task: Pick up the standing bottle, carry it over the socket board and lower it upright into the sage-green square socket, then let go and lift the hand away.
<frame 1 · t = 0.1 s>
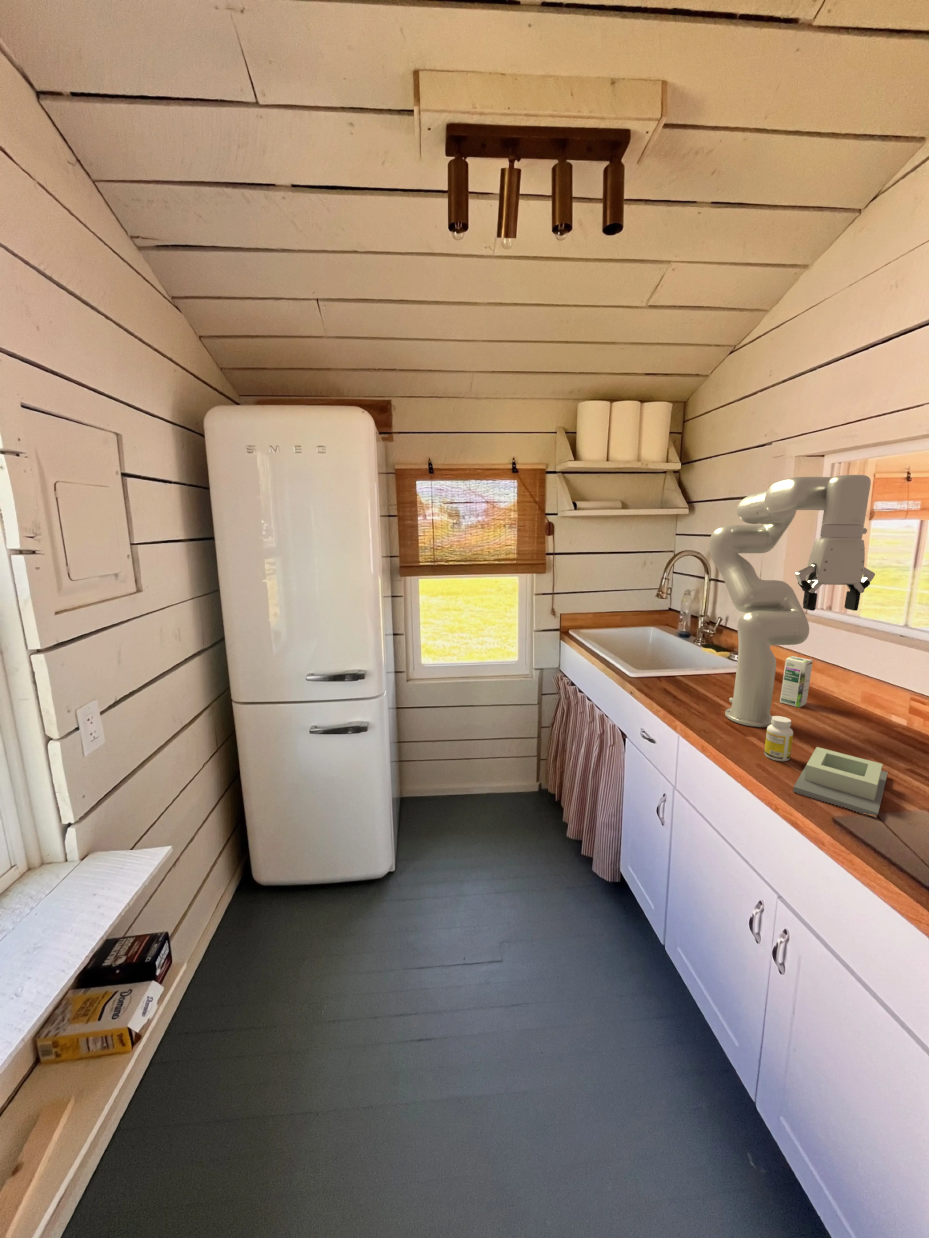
hand: (829, 609, 115), 37 cm above the worktop, tool pointing down, fingers open, 9 cm apart
supplement bottle: (776, 757, 123), on the worktop
socket board: (841, 784, 111), on the worktop
syrup box: (792, 703, 158), on the worktop
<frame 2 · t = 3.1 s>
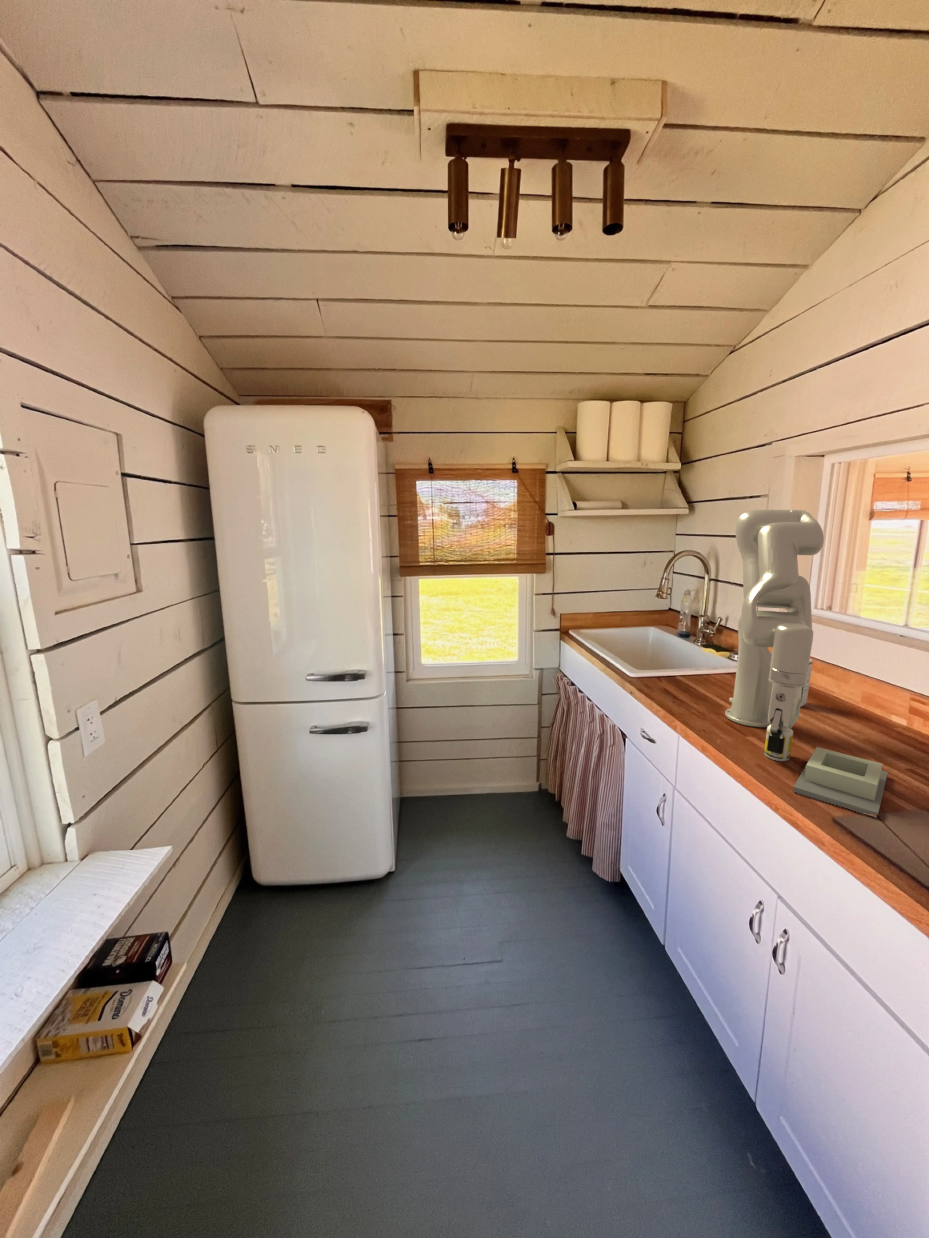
hand: (777, 747, 123), 3 cm above the worktop, tool pointing down, fingers closed on supplement bottle, 5 cm apart
supplement bottle: (776, 757, 123), on the worktop, touching gripper
everything else where it was.
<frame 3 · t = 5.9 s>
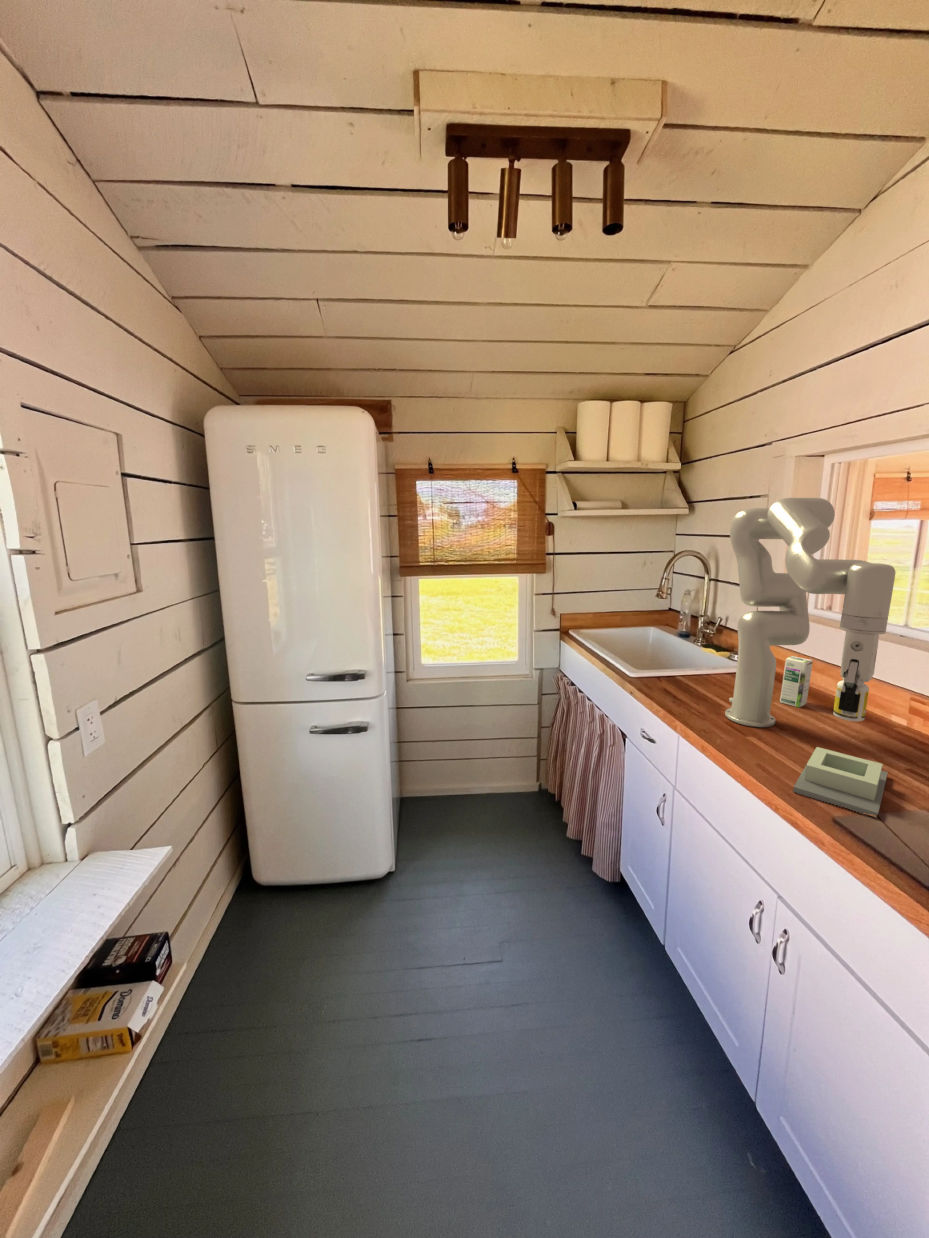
hand: (850, 706, 108), 18 cm above the worktop, tool pointing down, fingers closed on supplement bottle, 5 cm apart
supplement bottle: (848, 718, 108), point 15 cm above the worktop, touching gripper
everything else where it was.
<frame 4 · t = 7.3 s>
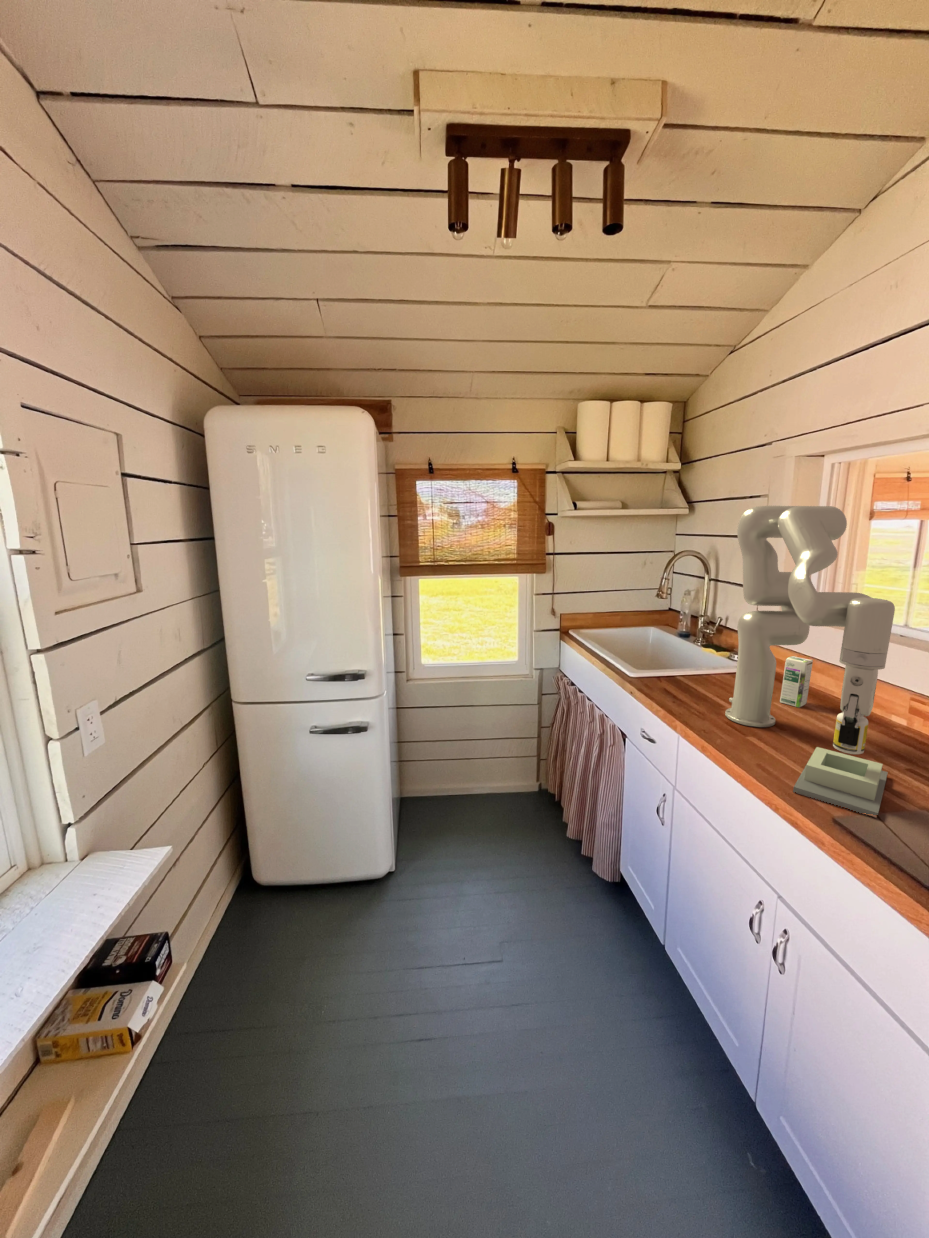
hand: (849, 738, 108), 11 cm above the worktop, tool pointing down, fingers closed on supplement bottle, 5 cm apart
supplement bottle: (847, 750, 109), point 8 cm above the worktop, touching gripper
everything else where it was.
when the fingers open (6 cm above the worktop, at t = 8.6 s): supplement bottle drops 2 cm, resting on socket board.
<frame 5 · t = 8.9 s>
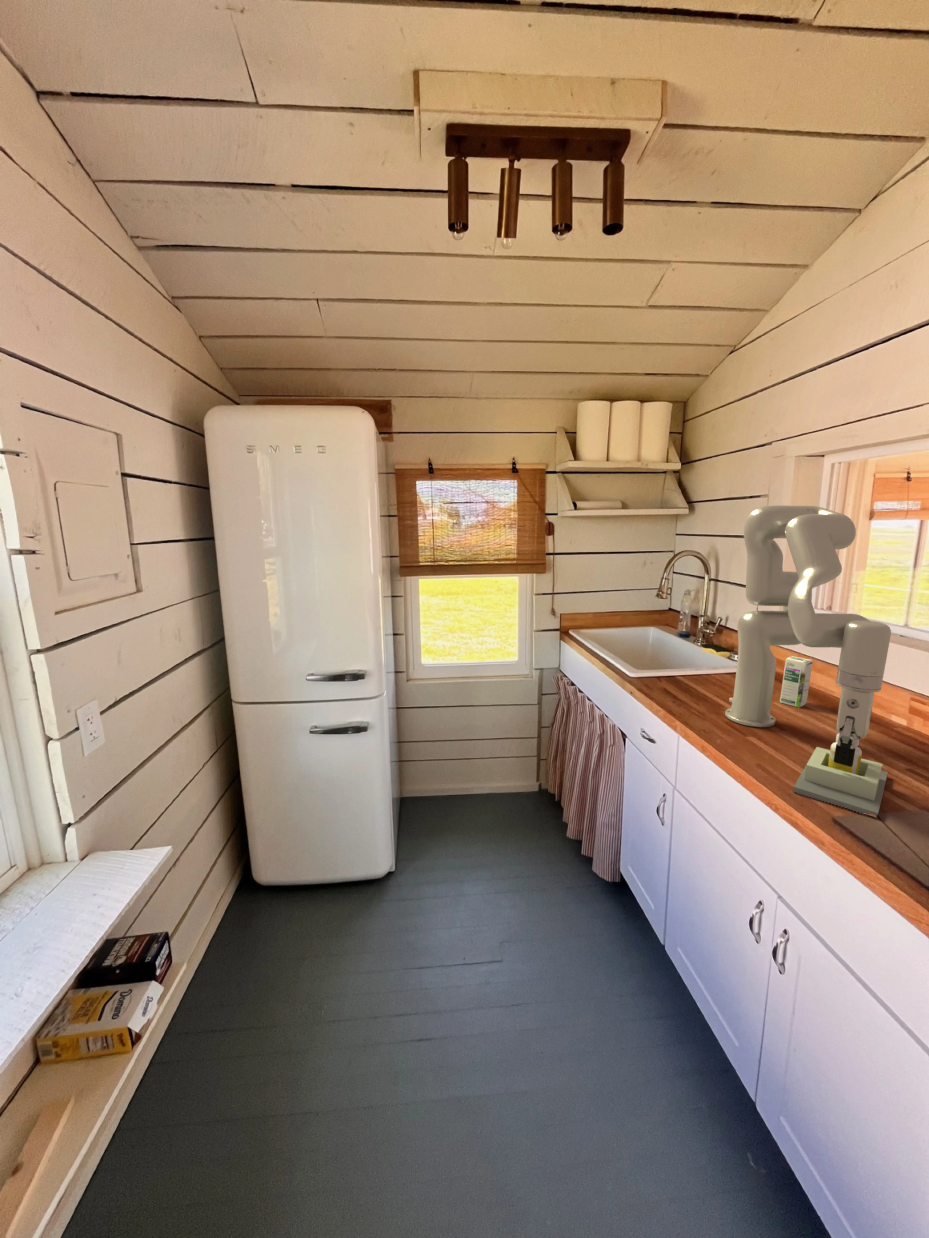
hand: (845, 756, 109), 7 cm above the worktop, tool pointing down, fingers open, 8 cm apart
supplement bottle: (841, 779, 111), point 1 cm above the worktop, touching socket board
everything else where it was.
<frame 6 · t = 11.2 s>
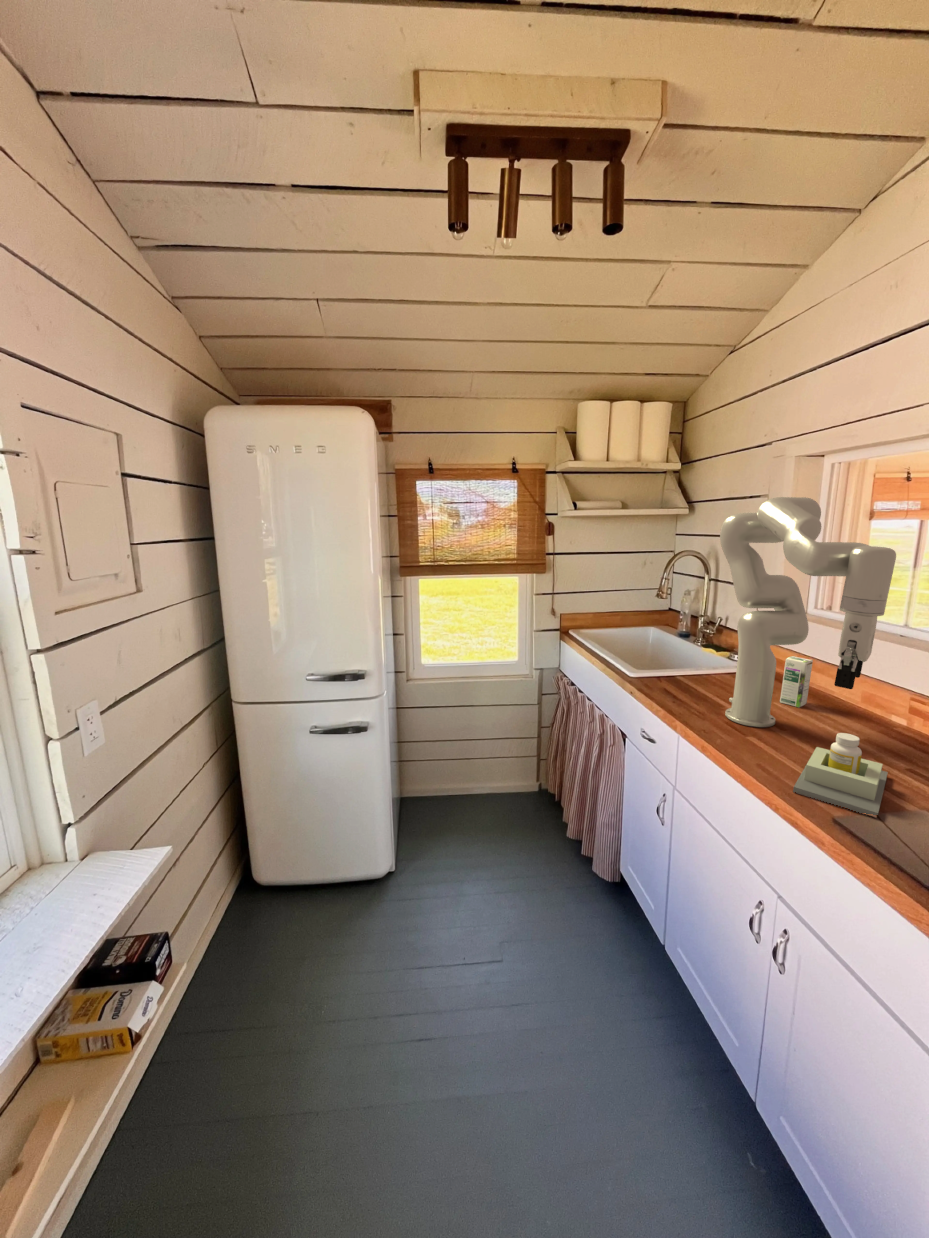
hand: (847, 681, 111), 22 cm above the worktop, tool pointing down, fingers open, 9 cm apart
nothing on the worktop moved.
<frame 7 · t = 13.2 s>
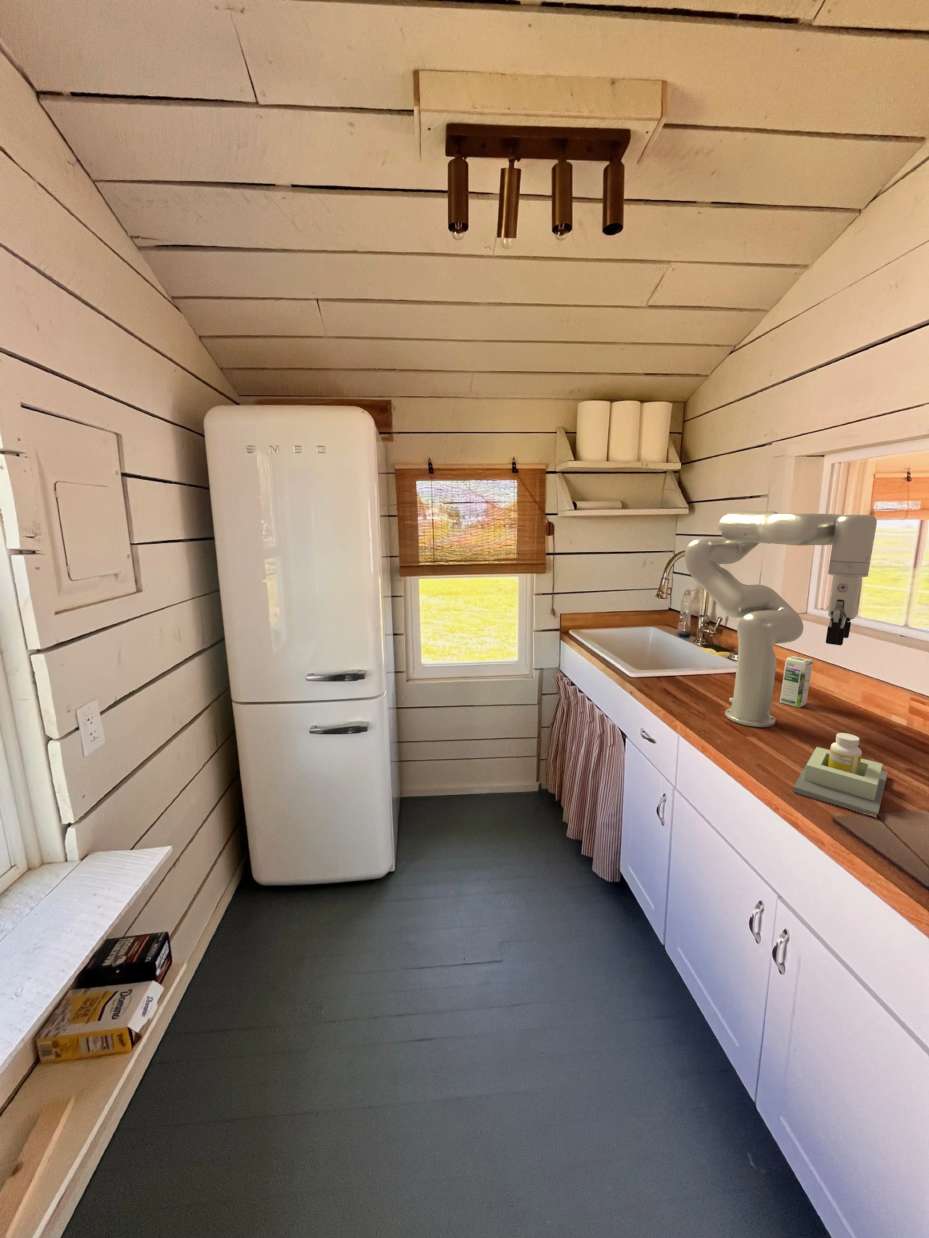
hand: (837, 640, 121), 28 cm above the worktop, tool pointing down, fingers open, 9 cm apart
nothing on the worktop moved.
at the end: supplement bottle 0.3 cm off-centre on the socket board, point 1.0 cm above the socket board's base; supplement bottle tilted 0°; the gripper is holding nothing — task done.
